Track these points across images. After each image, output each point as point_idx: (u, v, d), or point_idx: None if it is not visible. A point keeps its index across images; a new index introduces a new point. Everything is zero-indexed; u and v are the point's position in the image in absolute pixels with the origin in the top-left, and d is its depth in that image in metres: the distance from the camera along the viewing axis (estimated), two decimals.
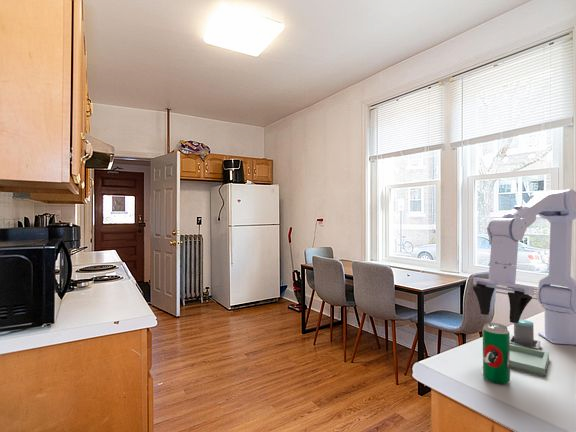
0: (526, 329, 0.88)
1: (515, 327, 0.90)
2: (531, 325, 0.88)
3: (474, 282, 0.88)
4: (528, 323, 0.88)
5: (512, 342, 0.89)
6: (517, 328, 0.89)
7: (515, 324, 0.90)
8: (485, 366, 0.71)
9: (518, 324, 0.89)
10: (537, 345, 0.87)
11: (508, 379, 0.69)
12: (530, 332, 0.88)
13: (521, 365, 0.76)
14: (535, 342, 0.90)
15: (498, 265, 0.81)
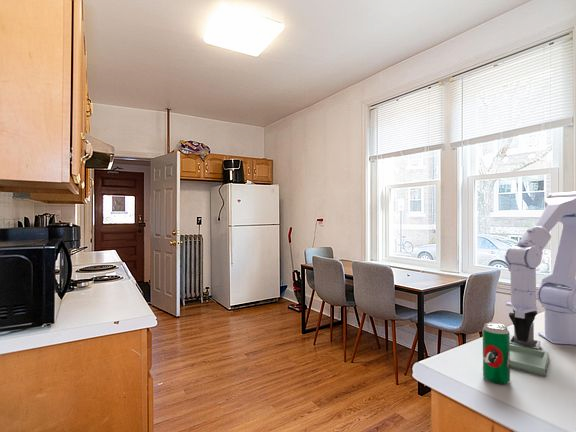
0: None
1: None
2: (531, 325, 0.88)
3: None
4: None
5: (512, 342, 0.89)
6: None
7: None
8: (485, 366, 0.71)
9: None
10: (537, 345, 0.87)
11: (508, 379, 0.69)
12: (530, 332, 0.88)
13: (521, 365, 0.76)
14: (535, 342, 0.90)
15: None
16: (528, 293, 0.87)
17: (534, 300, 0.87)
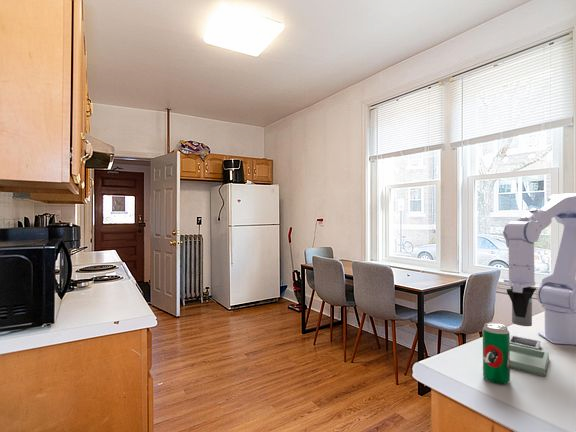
0: None
1: None
2: (529, 301, 0.86)
3: None
4: None
5: (512, 342, 0.89)
6: None
7: None
8: (485, 366, 0.71)
9: None
10: (537, 345, 0.87)
11: (508, 379, 0.69)
12: (528, 308, 0.86)
13: (521, 365, 0.76)
14: (535, 342, 0.90)
15: None
16: (526, 268, 0.85)
17: (532, 275, 0.86)
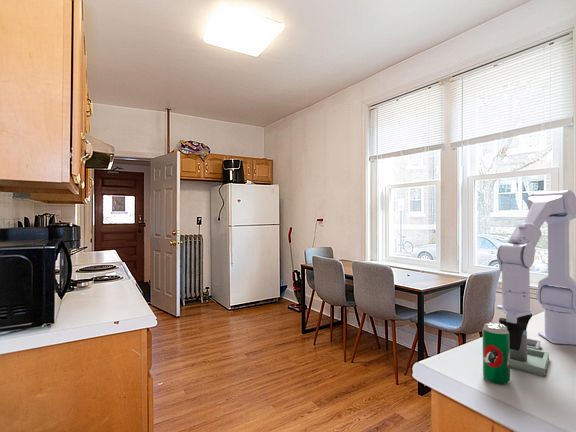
0: None
1: None
2: (524, 334, 0.79)
3: None
4: None
5: None
6: None
7: None
8: (485, 366, 0.71)
9: None
10: (537, 345, 0.87)
11: (508, 379, 0.69)
12: (523, 342, 0.79)
13: (521, 365, 0.76)
14: (535, 342, 0.90)
15: (502, 291, 0.83)
16: (521, 295, 0.79)
17: (527, 302, 0.79)
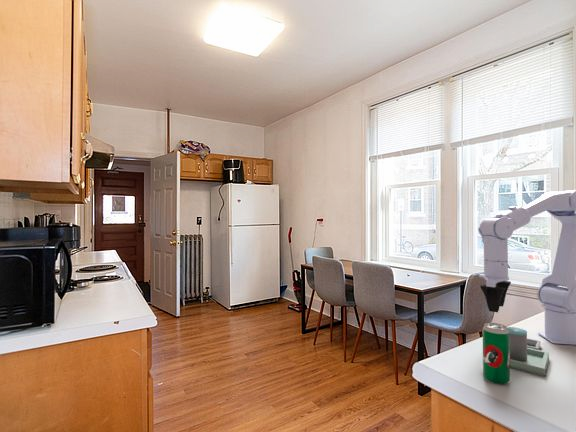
0: (519, 338, 0.79)
1: None
2: (524, 334, 0.79)
3: None
4: (521, 332, 0.80)
5: None
6: None
7: None
8: (485, 366, 0.71)
9: (510, 333, 0.81)
10: (537, 345, 0.87)
11: (508, 379, 0.69)
12: (523, 342, 0.79)
13: (521, 365, 0.76)
14: (535, 342, 0.90)
15: (484, 261, 0.92)
16: (500, 263, 0.88)
17: (506, 270, 0.89)
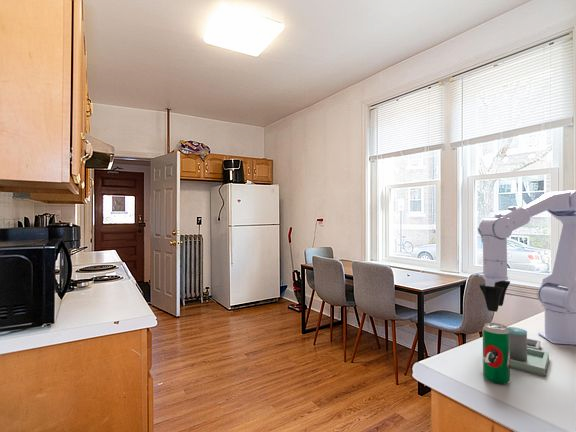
0: (519, 338, 0.79)
1: None
2: (524, 334, 0.79)
3: None
4: (521, 332, 0.80)
5: None
6: None
7: None
8: (485, 366, 0.71)
9: (510, 333, 0.81)
10: (537, 345, 0.87)
11: (508, 379, 0.69)
12: (523, 342, 0.79)
13: (521, 365, 0.76)
14: (535, 342, 0.90)
15: (483, 261, 0.93)
16: (499, 263, 0.89)
17: (505, 269, 0.89)
